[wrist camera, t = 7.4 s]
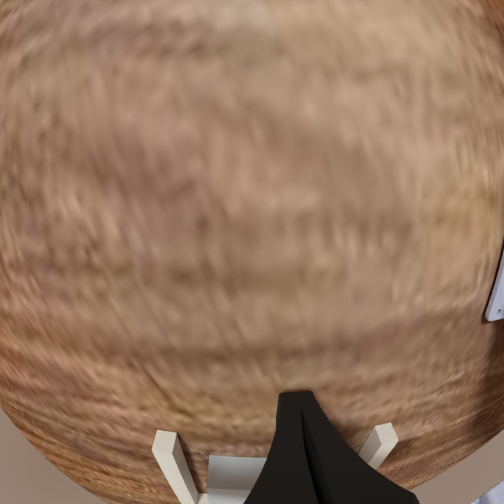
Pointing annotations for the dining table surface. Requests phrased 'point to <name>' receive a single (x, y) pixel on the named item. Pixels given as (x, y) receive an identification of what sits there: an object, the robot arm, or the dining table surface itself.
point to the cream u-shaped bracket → (185, 489)
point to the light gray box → (232, 478)
